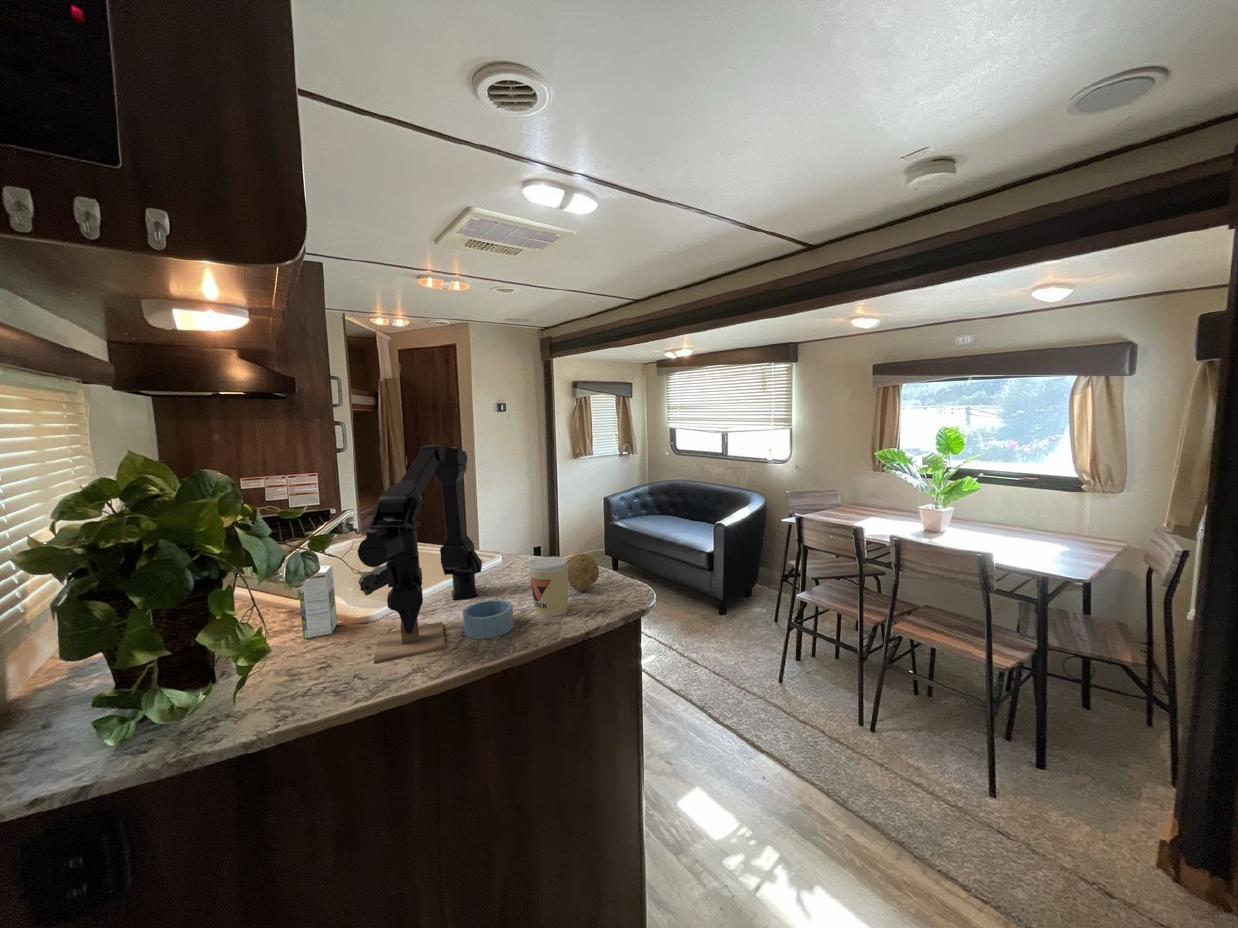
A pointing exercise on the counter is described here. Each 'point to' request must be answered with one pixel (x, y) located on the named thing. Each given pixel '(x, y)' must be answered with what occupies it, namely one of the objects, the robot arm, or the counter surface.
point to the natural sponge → (582, 571)
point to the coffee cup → (549, 585)
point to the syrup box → (318, 604)
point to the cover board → (409, 642)
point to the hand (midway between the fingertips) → (409, 624)
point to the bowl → (488, 619)
